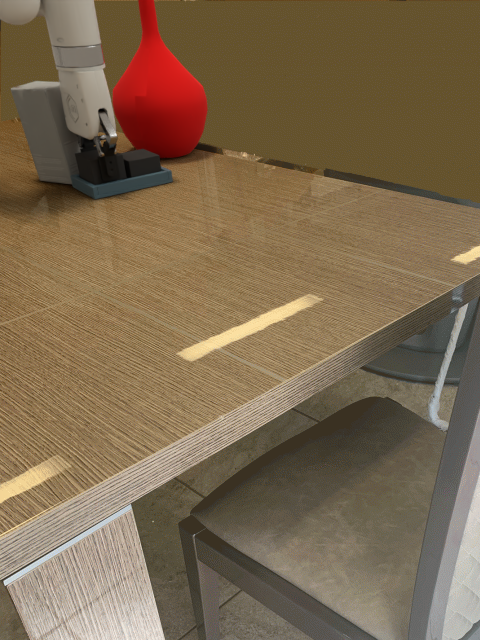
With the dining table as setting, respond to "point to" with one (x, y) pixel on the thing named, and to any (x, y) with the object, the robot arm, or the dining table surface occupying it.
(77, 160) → the loose pad
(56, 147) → the cosmetic box
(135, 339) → the dining table surface
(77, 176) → the tray
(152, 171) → the seated pad
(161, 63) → the vase
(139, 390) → the dining table surface
